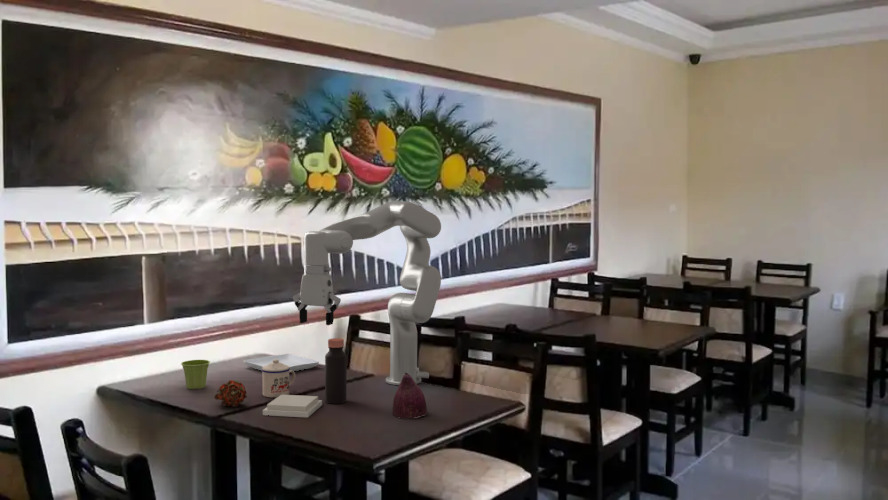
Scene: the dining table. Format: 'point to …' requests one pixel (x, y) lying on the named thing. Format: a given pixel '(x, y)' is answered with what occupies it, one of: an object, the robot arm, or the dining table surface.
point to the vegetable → (409, 399)
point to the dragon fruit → (231, 393)
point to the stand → (293, 406)
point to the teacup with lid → (276, 379)
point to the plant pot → (195, 373)
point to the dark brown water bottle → (335, 372)
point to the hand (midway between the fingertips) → (316, 323)
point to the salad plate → (287, 359)
